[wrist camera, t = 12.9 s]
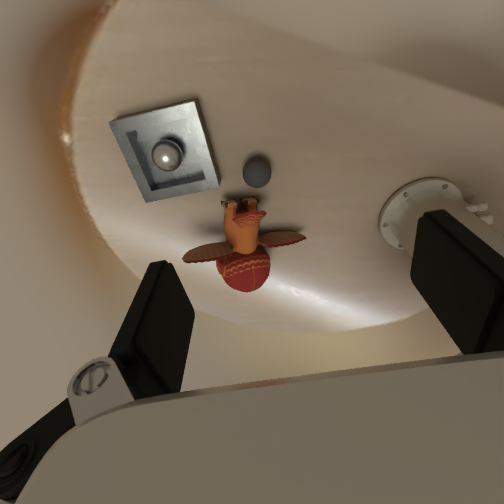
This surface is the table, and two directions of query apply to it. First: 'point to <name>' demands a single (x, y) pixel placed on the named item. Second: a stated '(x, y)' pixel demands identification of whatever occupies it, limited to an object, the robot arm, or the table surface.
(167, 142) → the steel ball
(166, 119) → the square metal tray
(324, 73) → the table surface
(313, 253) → the table surface
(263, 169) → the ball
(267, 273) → the figurine
